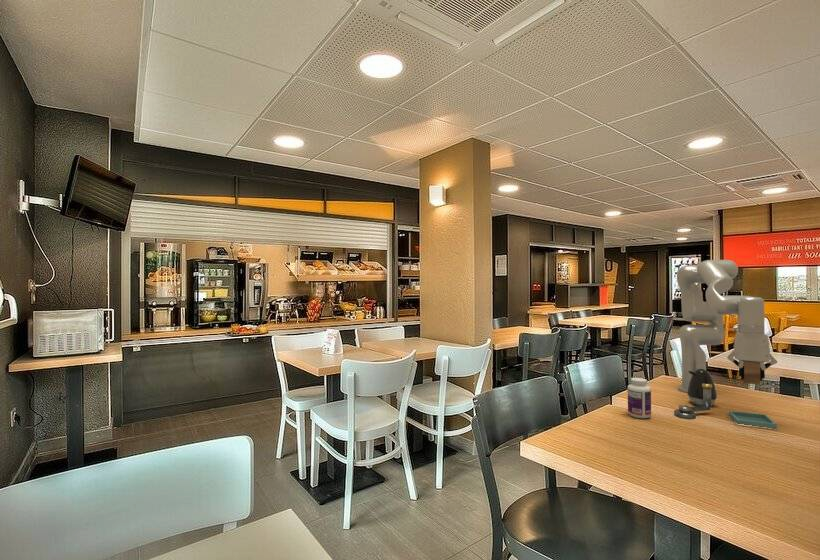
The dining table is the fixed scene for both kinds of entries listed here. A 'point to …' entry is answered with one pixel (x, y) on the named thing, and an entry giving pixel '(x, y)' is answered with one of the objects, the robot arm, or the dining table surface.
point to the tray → (752, 419)
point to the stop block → (751, 372)
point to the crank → (706, 401)
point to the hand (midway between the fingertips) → (751, 378)
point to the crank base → (684, 414)
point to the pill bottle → (639, 398)
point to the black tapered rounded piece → (700, 386)
